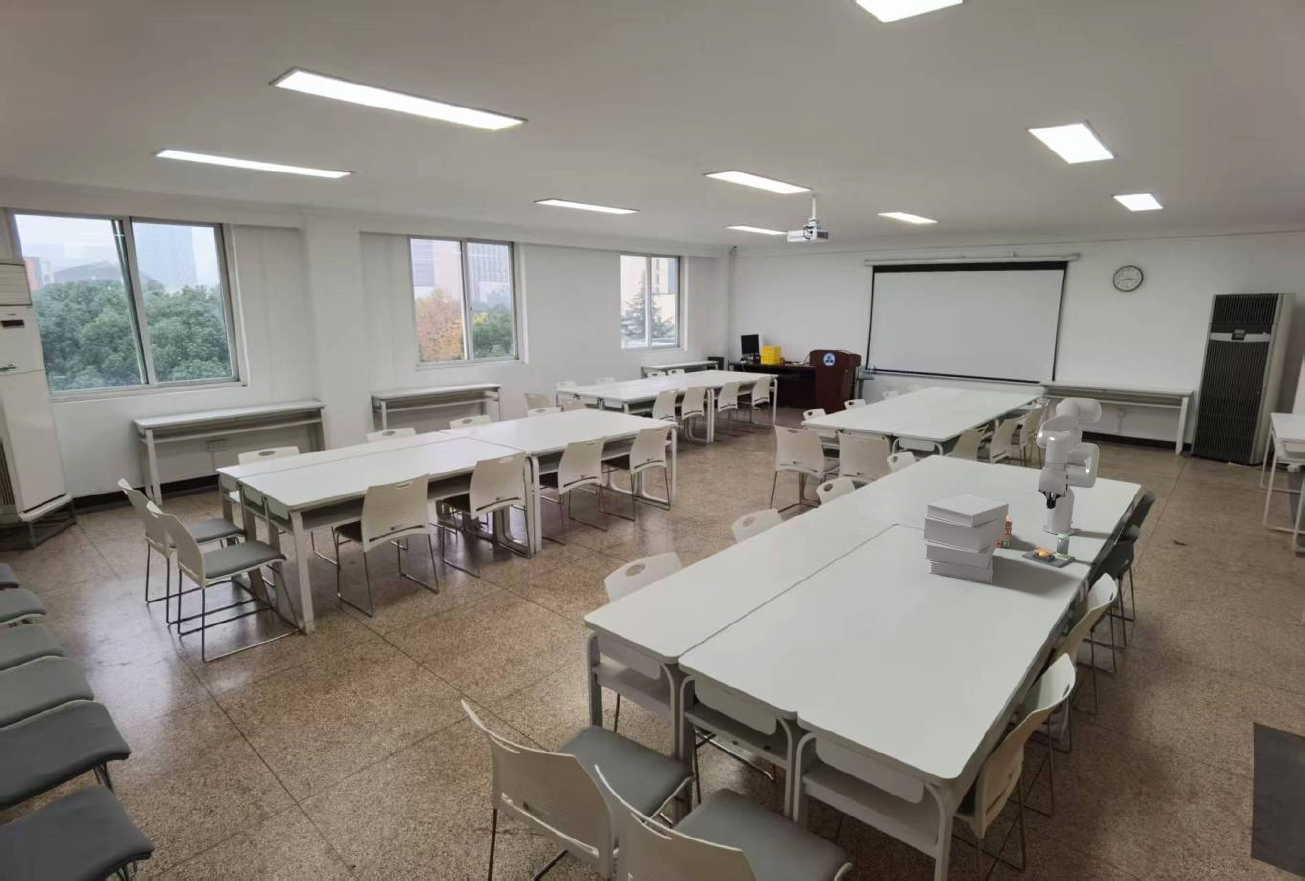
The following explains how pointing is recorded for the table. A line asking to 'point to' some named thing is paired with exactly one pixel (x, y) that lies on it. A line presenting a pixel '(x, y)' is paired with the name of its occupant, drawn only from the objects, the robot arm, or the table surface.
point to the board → (1052, 558)
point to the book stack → (964, 536)
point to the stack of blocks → (1005, 539)
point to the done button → (1044, 554)
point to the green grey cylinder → (1062, 545)
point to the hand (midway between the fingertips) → (1050, 508)
